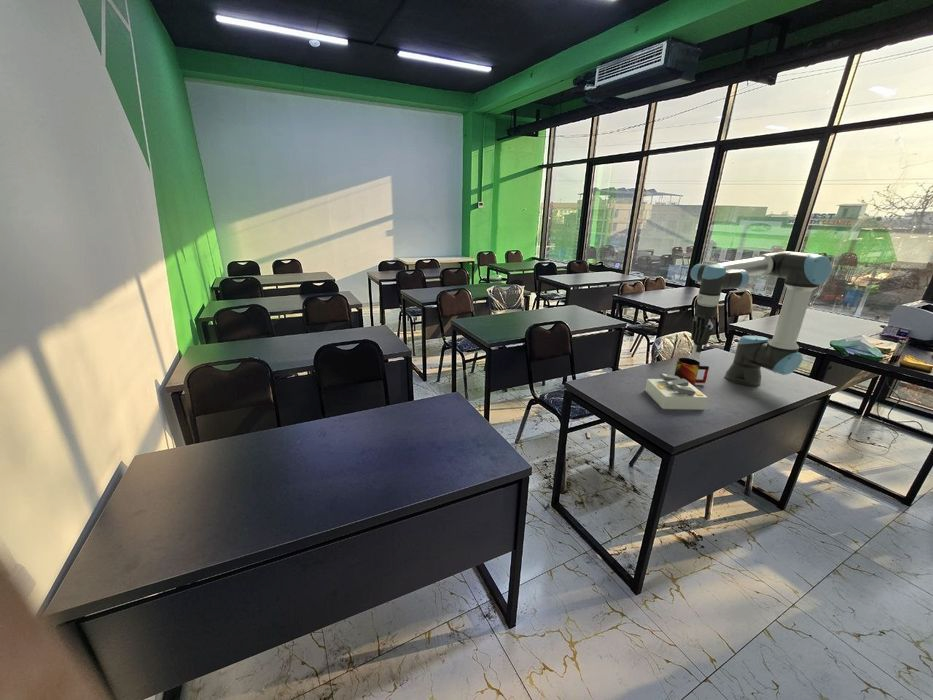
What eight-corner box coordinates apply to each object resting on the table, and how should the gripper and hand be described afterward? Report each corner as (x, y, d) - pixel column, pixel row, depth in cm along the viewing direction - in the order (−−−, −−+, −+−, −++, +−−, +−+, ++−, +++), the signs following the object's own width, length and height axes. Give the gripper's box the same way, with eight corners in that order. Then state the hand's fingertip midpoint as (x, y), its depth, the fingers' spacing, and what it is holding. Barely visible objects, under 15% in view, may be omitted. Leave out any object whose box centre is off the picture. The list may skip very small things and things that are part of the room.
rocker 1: (675, 379, 185) (677, 375, 184) (680, 383, 181) (681, 379, 180) (659, 376, 184) (660, 372, 183) (663, 380, 180) (665, 376, 180)
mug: (705, 385, 194) (711, 362, 190) (684, 389, 190) (689, 366, 185) (688, 377, 203) (693, 355, 199) (668, 381, 198) (673, 359, 194)
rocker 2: (683, 382, 178) (683, 378, 178) (688, 385, 175) (688, 381, 174) (665, 384, 179) (665, 381, 178) (670, 388, 175) (670, 384, 174)
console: (682, 390, 188) (685, 378, 185) (704, 409, 171) (707, 395, 169) (645, 390, 188) (647, 377, 185) (663, 409, 171) (666, 395, 168)
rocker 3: (689, 391, 173) (690, 387, 173) (693, 395, 170) (696, 391, 169) (672, 387, 173) (674, 383, 172) (676, 391, 169) (678, 387, 168)
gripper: (689, 300, 166) (678, 352, 174) (707, 308, 154) (694, 364, 162) (706, 300, 166) (695, 352, 174) (726, 308, 154) (712, 364, 162)
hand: (695, 358), depth 168 cm, fingers closed
